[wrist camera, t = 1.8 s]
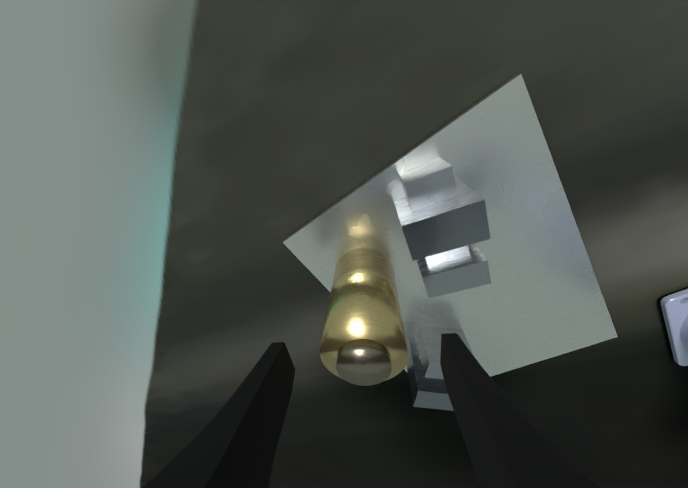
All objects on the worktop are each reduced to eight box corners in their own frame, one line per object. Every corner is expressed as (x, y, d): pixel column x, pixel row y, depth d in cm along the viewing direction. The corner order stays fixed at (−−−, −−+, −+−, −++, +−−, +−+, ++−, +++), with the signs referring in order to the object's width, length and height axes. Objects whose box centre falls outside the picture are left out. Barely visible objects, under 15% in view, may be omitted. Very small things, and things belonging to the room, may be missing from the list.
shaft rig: (516, 74, 11) (578, 62, 8) (612, 332, 18) (667, 382, 15) (284, 239, 17) (264, 272, 13) (428, 391, 24) (438, 438, 20)
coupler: (371, 236, 15) (376, 323, 9) (404, 279, 17) (427, 379, 11) (323, 266, 17) (299, 359, 11) (357, 303, 18) (353, 404, 12)
